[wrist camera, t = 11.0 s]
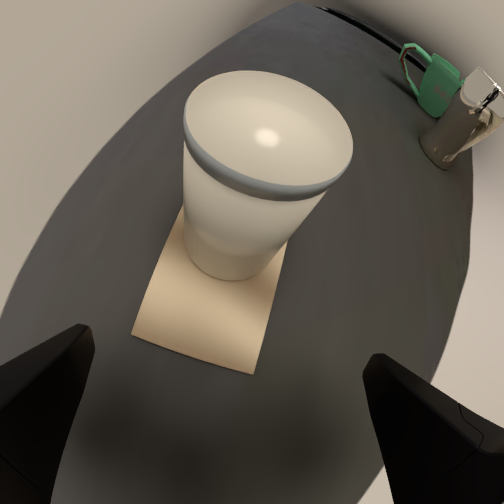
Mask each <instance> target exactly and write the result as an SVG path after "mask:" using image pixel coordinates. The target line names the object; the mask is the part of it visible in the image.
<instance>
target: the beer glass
mask: <svg viewBox="0 0 504 504" xmlns="http://www.w3.org/2000/svg"><path fill="white" fill-rule="evenodd" d="M503 122H504V92H503V91H502V89H501V88H500V87H499V86H498V85H497V84H496V83H495V82H494V80H493V79H492V78H490V76H489V75H488V74H487V73H486V72H485V71H484V70H483V69H481V68H480V67H479V66H478V67H477V68H476V69H475V70H474V71H473V72H472V73H471V74H470V75H469V76H468V77H467V78H466V79H465V80H464V81H463V83H462V84H461V85H460V86H459V87H458V89H457V90H456V91H455V93H454V95H453V96H452V98H451V99H450V101H449V103H448V105H447V107H446V108H445V110H444V112H443V114H442V116H441V117H440V119H439V120H438V121H437V123H436V124H435V125H434V126H433V127H432V128H430V129H429V130H428V131H426V132H425V133H423V134H422V135H421V136H420V138H419V142H420V145H421V147H422V149H423V151H424V152H425V154H426V155H427V156H428V158H429V159H430V160H431V161H432V162H433V163H434V164H435V165H436V166H438V167H439V168H441V169H443V170H448V169H449V168H450V167H451V166H452V164H453V163H454V162H455V160H456V159H457V158H458V156H459V155H460V154H461V153H463V152H464V151H465V150H466V149H468V148H469V147H471V146H473V145H474V144H476V143H478V142H479V141H481V140H483V139H484V138H486V137H487V136H489V135H490V134H491V133H493V132H494V131H495V130H496V129H497V128H498V127H499V126H500V125H501V124H502V123H503Z"/></svg>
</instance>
